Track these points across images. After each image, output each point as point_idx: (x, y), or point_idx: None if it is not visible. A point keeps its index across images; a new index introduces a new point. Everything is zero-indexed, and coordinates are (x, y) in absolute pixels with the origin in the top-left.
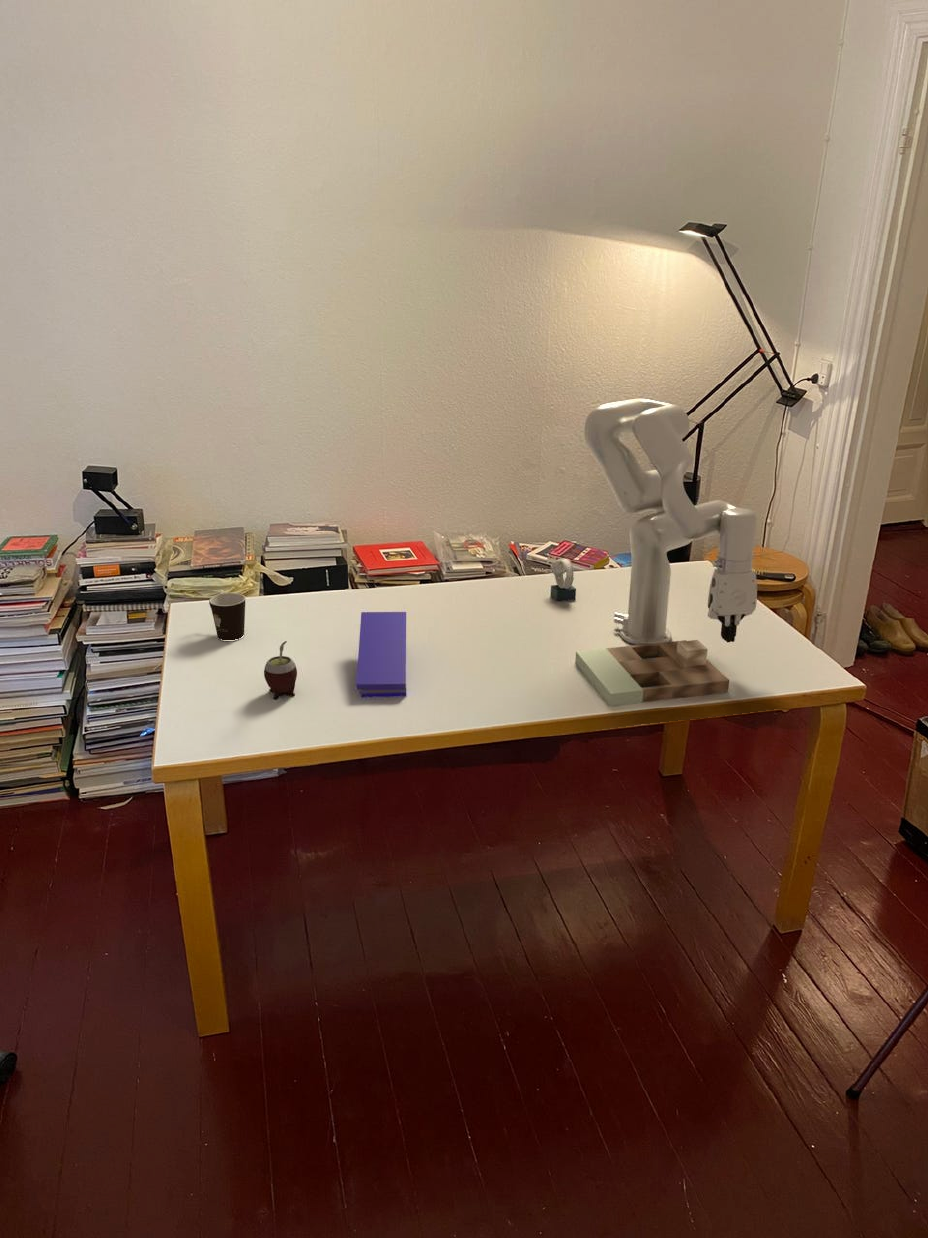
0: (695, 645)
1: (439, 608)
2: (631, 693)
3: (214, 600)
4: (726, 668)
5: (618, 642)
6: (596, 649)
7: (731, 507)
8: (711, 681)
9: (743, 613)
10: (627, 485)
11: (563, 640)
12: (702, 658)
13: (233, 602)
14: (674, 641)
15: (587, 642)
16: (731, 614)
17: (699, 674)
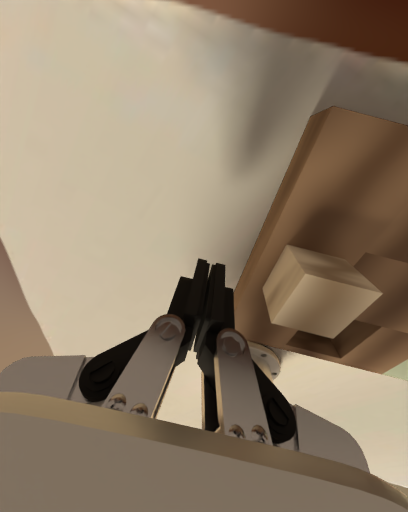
0: (313, 305)
1: (370, 457)
2: None
3: None
4: (202, 236)
5: (288, 367)
6: (401, 378)
7: None
8: (400, 132)
9: (97, 418)
10: None
11: (345, 395)
12: (305, 258)
13: None
14: (247, 339)
15: (325, 382)
16: (270, 469)
17: (367, 203)
